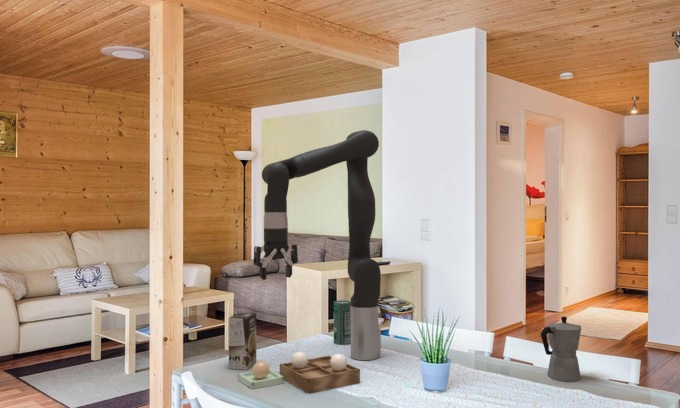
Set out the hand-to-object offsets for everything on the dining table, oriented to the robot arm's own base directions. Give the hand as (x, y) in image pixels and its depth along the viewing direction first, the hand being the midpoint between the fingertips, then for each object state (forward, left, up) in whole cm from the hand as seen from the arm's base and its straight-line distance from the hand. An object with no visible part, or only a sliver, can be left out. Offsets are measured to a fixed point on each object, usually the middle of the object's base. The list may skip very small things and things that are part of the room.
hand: (276, 278), depth 187 cm
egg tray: (-5, +18, -28) cm, 34 cm away
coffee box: (+8, -8, -28) cm, 30 cm away
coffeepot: (-66, +55, -28) cm, 90 cm away
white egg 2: (-9, +22, -23) cm, 33 cm away
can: (-34, -15, -28) cm, 47 cm away
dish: (+10, +10, -28) cm, 31 cm away
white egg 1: (-1, +14, -23) cm, 26 cm away
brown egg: (+10, +10, -25) cm, 29 cm away
